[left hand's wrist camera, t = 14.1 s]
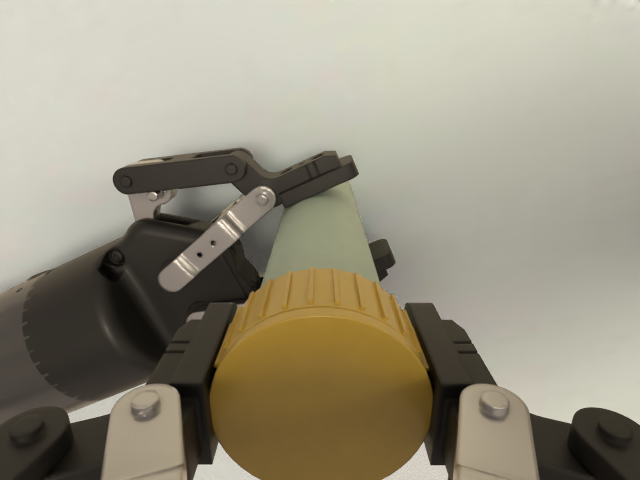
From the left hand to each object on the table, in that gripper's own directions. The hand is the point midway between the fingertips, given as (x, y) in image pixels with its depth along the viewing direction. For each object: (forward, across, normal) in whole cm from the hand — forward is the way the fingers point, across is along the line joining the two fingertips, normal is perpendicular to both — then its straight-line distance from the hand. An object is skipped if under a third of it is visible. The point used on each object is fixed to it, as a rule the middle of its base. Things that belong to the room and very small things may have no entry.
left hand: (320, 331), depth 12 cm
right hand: (+9, -2, -1) cm, 9 cm away
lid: (-3, 0, 0) cm, 3 cm away
